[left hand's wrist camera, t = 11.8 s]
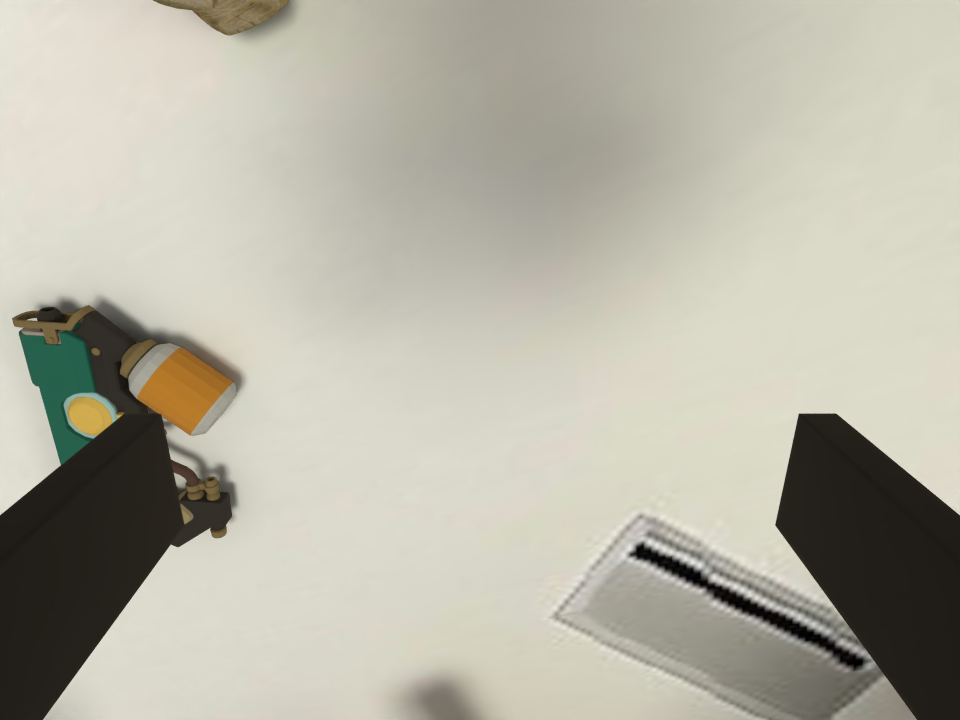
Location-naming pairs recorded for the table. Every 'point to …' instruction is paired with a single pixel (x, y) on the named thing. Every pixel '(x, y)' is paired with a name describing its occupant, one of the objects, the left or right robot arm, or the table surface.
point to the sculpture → (230, 12)
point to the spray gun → (125, 394)
